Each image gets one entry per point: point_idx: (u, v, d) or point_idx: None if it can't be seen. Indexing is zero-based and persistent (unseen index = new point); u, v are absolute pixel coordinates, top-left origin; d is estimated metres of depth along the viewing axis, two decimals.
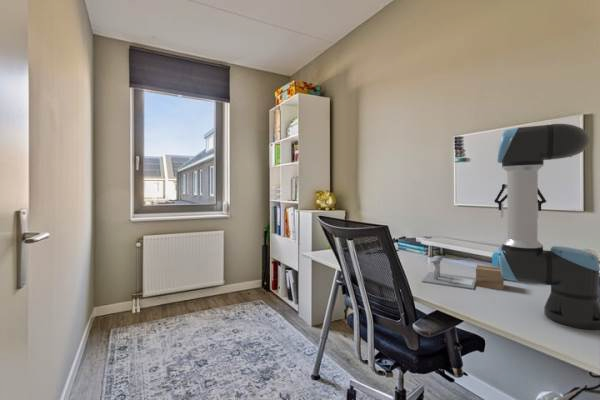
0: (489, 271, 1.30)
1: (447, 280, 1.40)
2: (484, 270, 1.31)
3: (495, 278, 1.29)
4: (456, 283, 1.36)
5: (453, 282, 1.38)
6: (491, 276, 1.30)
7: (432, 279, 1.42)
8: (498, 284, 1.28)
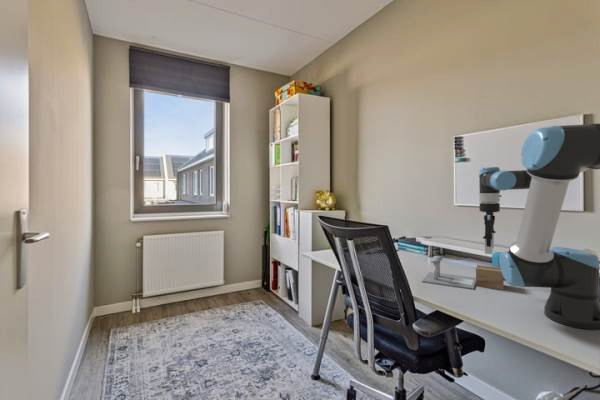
0: (489, 271, 1.30)
1: (447, 280, 1.40)
2: (484, 270, 1.31)
3: (495, 278, 1.29)
4: (456, 283, 1.36)
5: (453, 282, 1.38)
6: (491, 276, 1.30)
7: (432, 279, 1.42)
8: (498, 284, 1.28)
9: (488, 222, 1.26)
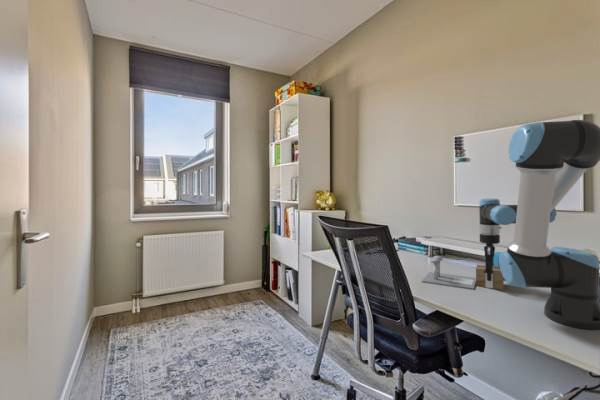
0: None
1: (447, 280, 1.40)
2: (484, 270, 1.31)
3: (495, 278, 1.29)
4: (456, 283, 1.36)
5: (453, 282, 1.38)
6: None
7: (432, 279, 1.42)
8: (498, 283, 1.28)
9: (488, 257, 1.27)
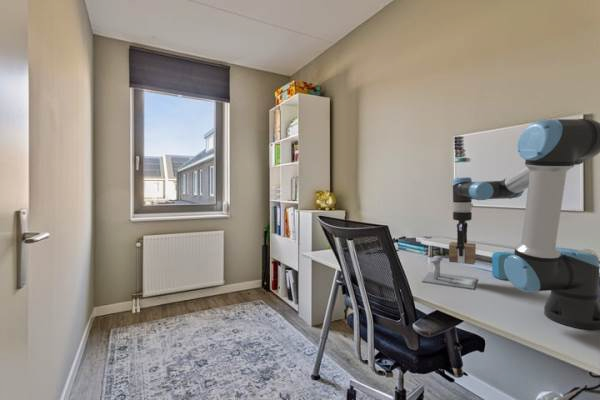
0: None
1: (447, 280, 1.40)
2: (456, 246, 1.36)
3: (466, 253, 1.34)
4: (456, 283, 1.36)
5: (453, 282, 1.38)
6: None
7: (432, 279, 1.42)
8: (469, 258, 1.33)
9: (460, 233, 1.32)
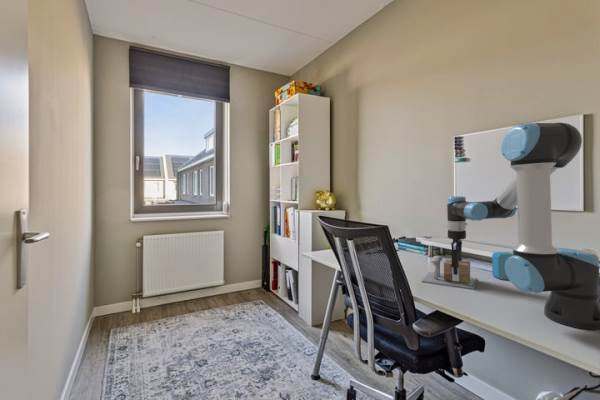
0: None
1: (447, 280, 1.40)
2: (451, 264, 1.38)
3: (461, 272, 1.35)
4: (456, 283, 1.36)
5: (453, 282, 1.38)
6: None
7: (432, 279, 1.42)
8: (463, 277, 1.35)
9: (454, 252, 1.34)
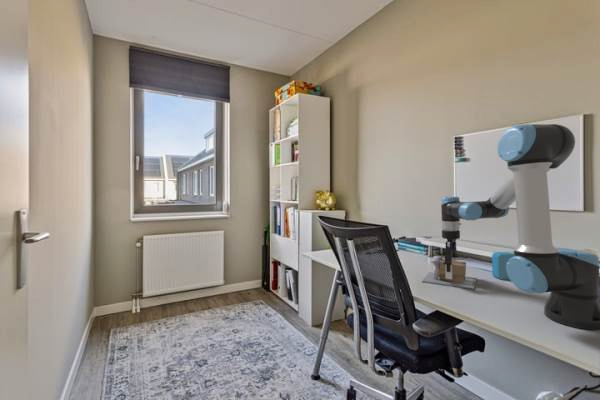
0: None
1: None
2: None
3: (456, 272, 1.36)
4: (456, 283, 1.36)
5: (453, 282, 1.38)
6: (453, 270, 1.37)
7: (432, 279, 1.42)
8: (459, 277, 1.36)
9: (448, 249, 1.34)
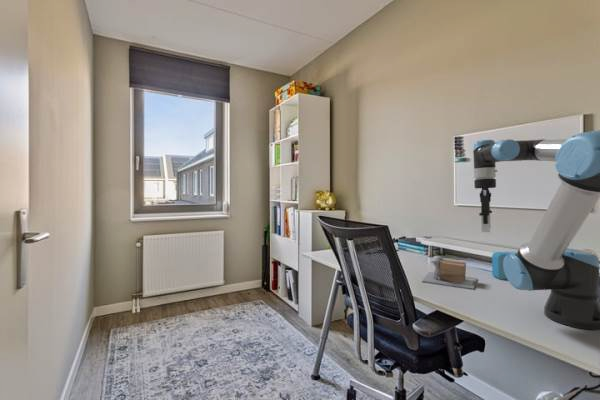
0: (451, 265, 1.37)
1: None
2: (447, 264, 1.39)
3: (456, 272, 1.37)
4: (456, 283, 1.36)
5: (453, 282, 1.38)
6: (453, 270, 1.37)
7: (432, 279, 1.42)
8: (459, 277, 1.36)
9: (484, 197, 1.17)
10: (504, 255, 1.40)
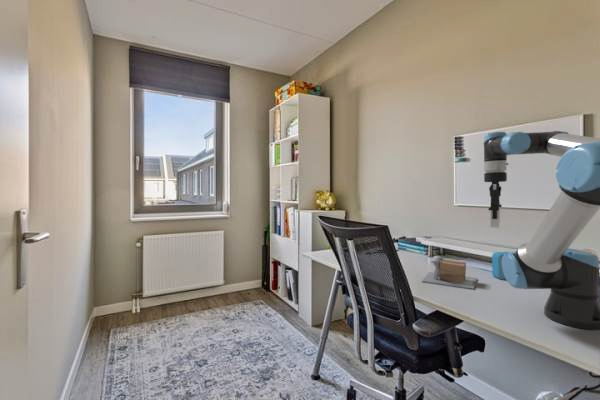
0: (451, 265, 1.37)
1: None
2: (447, 264, 1.39)
3: (456, 272, 1.37)
4: (456, 283, 1.36)
5: (453, 282, 1.38)
6: (453, 270, 1.37)
7: (432, 279, 1.42)
8: (459, 277, 1.36)
9: (494, 192, 1.14)
10: None
